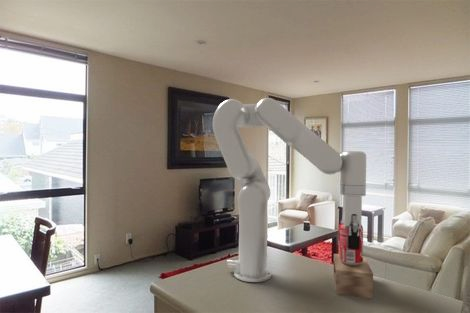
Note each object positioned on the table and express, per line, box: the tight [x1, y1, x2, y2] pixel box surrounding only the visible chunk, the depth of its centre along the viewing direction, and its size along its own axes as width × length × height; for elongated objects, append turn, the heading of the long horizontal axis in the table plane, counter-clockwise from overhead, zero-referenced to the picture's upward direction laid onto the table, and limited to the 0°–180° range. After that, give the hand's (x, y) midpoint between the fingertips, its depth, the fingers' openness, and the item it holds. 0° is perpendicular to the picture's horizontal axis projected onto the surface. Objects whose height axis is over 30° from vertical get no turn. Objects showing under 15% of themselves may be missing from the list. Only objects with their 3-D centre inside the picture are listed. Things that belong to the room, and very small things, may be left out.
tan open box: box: [332, 253, 374, 299], centre depth 98 cm, size 10×16×7 cm, turn 165°
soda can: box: [338, 219, 364, 266], centre depth 98 cm, size 7×7×13 cm
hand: (351, 244), depth 98 cm, fingers open, 9 cm apart
